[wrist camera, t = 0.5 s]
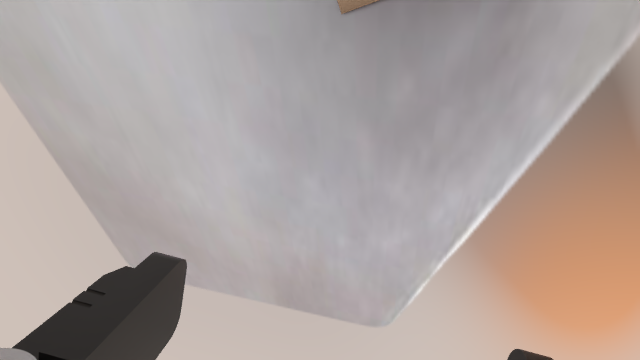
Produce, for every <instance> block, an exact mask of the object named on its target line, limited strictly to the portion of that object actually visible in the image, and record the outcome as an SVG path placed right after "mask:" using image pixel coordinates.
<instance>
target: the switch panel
mask: <svg viewBox="0 0 640 360" xmlns="http://www.w3.org/2000/svg"><path fill="white" fill-rule="evenodd" d="M337 1H338V4H339V7H340V10H341V14H343V13H346V12H348V11H351V10H354V9H357V8H359V7H362V6H365V5H368V4H370V3H373V2H376V1H379V0H337Z"/></svg>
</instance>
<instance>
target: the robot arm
mask: <svg viewBox="0 0 640 360" xmlns="http://www.w3.org/2000/svg"><path fill="white" fill-rule="evenodd" d="M186 269H187V263H186V260H184V259H181V258H177V257H173V256H169V255H166V254H162V253H158V252H154V253H152V254H151V255H150V256H148V257H147V258H146V259H145V260H144V261H143V262H141V263H140V264H139V265H138V266H137V267H136V268H131V267H127V266H125V267H123V268H120V269H118V270H115V271H113V272H110V273H108V274H105V275H103V276H102V277H101V278H100V279H98V280H97V281H96V282H95V283H93V284H92V285H91V286H89V287H88V288H87V291H83V292H82V293H81V294H79V295H78V296H77V297H76V298H74V299H73V301H72V303H68V304H67V305H66V306H64V307H63V308H62V309H61V310H59V311H58V312H57V313H55V314H54V315H53V316H52V317H50V318H49V319H48V320H47V321H45V322H44V323H43V324H42V325H40V326H39V327H38V328H37V329H35V330H34V331H33V332H31V333H30V334H29V335H28V336H26V337H25V338H24V339H23V340H21V341H20V342H19V343H18V344H16V345H15V346H14V347H13V348H0V360H155V359H156V358H157V357H158V355H159V354H160V353H161V351H162V350H163V348H164V347H165V346H166V344H167V343H168V341H169V340H170V339H171V337H172V335H173V333H174V331H175V329H176V327H177V324H178V321H179V318H180V313H181V307H182V299H183V292H184V284H185V277H186ZM508 360H553V359H552V358H550V357H546V356H543V355H539V354H535V353H532V352H528V351H524V350H520V349H515V350H513V351H512V352H511V353H510V355H509V357H508Z"/></svg>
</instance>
